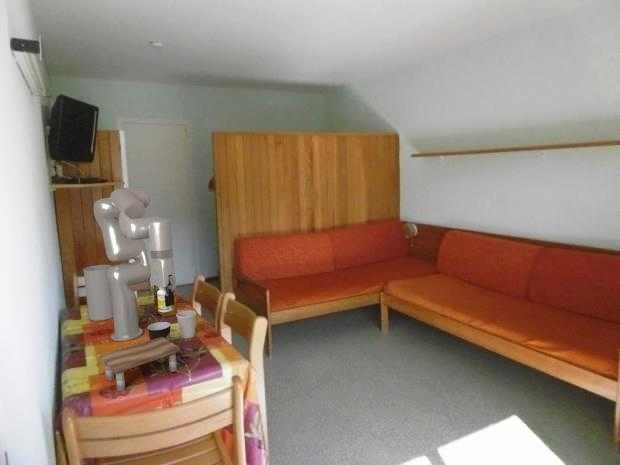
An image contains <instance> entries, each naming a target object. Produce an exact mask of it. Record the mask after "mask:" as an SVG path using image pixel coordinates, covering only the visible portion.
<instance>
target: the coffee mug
mask: <svg viewBox="0 0 620 465" xmlns="http://www.w3.org/2000/svg"><path fill="white" fill-rule="evenodd" d="M171 326H172V325H171V322H167V321H161V322H155V323H151V324H149V325H148V326H147V332H148V338H149V340H153V339H156V338H159V337H163V338H165V339H167V340H168V341H170V342H171V330H172V329H171Z"/></svg>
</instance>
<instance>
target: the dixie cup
mask: <svg viewBox="0 0 620 465" xmlns="http://www.w3.org/2000/svg"><path fill="white" fill-rule="evenodd" d="M175 316H176V319H177V324H178V328H179V333H180V338H182V339H190V338H193V337H195V336H196V335H195V334H196V316H197V312H196V311H195V310H190V309H189V310H182V311H180V312H177V314H176V315H175Z"/></svg>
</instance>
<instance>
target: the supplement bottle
mask: <svg viewBox="0 0 620 465" xmlns="http://www.w3.org/2000/svg"><path fill="white" fill-rule="evenodd" d="M167 286H170V284H168V285H167ZM159 289H160V290H158V291H157V298H158V310H159V311H160V312H169V311H172V310H173V309H174V305H171V306H168V307H166V306H165V295H166V294H165V290H164V288H160V287H159ZM169 289H170V288H167V290H169Z"/></svg>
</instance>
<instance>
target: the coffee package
mask: <svg viewBox="0 0 620 465" xmlns="http://www.w3.org/2000/svg"><path fill="white" fill-rule="evenodd" d="M175 291H176V290H175ZM175 291H174V309H173V310H172V311H169V312H160V311H159V310H158V303H157V295H156V287H155V285H153V298H154V301H153V302H154V306H155V311H156V312H157V313H158V314H159V315H160V316H161V317H163V318H165V317H171V316H176V314H177V313H178V305H177V304H178V303H177V294H176V292H175Z"/></svg>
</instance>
